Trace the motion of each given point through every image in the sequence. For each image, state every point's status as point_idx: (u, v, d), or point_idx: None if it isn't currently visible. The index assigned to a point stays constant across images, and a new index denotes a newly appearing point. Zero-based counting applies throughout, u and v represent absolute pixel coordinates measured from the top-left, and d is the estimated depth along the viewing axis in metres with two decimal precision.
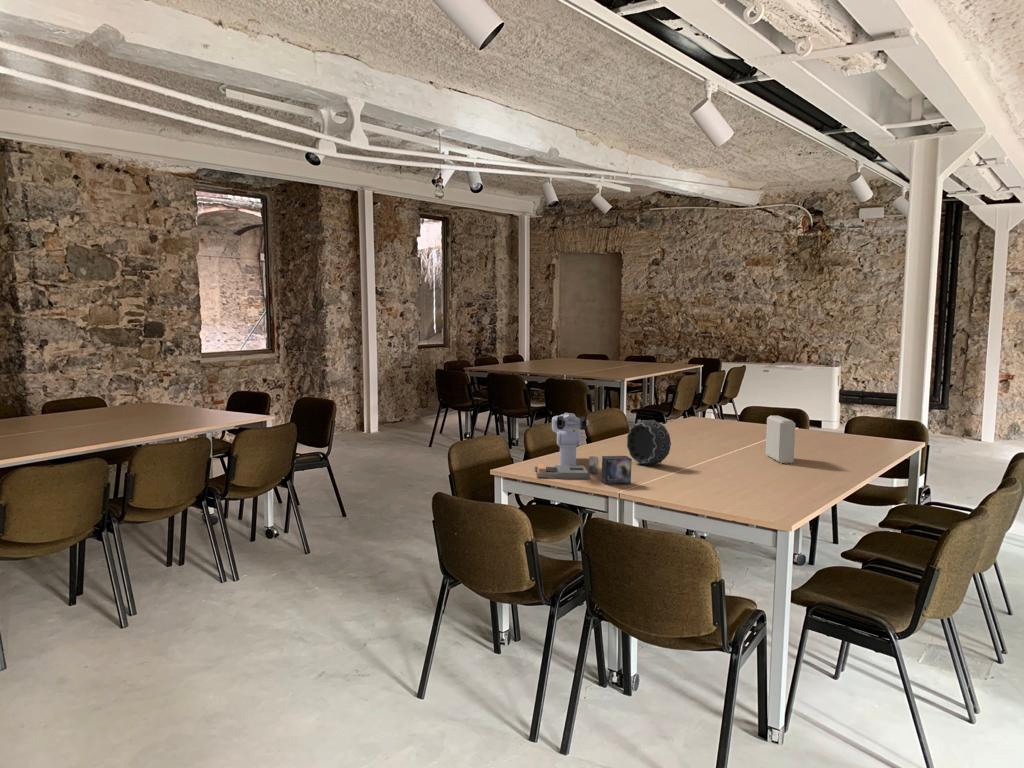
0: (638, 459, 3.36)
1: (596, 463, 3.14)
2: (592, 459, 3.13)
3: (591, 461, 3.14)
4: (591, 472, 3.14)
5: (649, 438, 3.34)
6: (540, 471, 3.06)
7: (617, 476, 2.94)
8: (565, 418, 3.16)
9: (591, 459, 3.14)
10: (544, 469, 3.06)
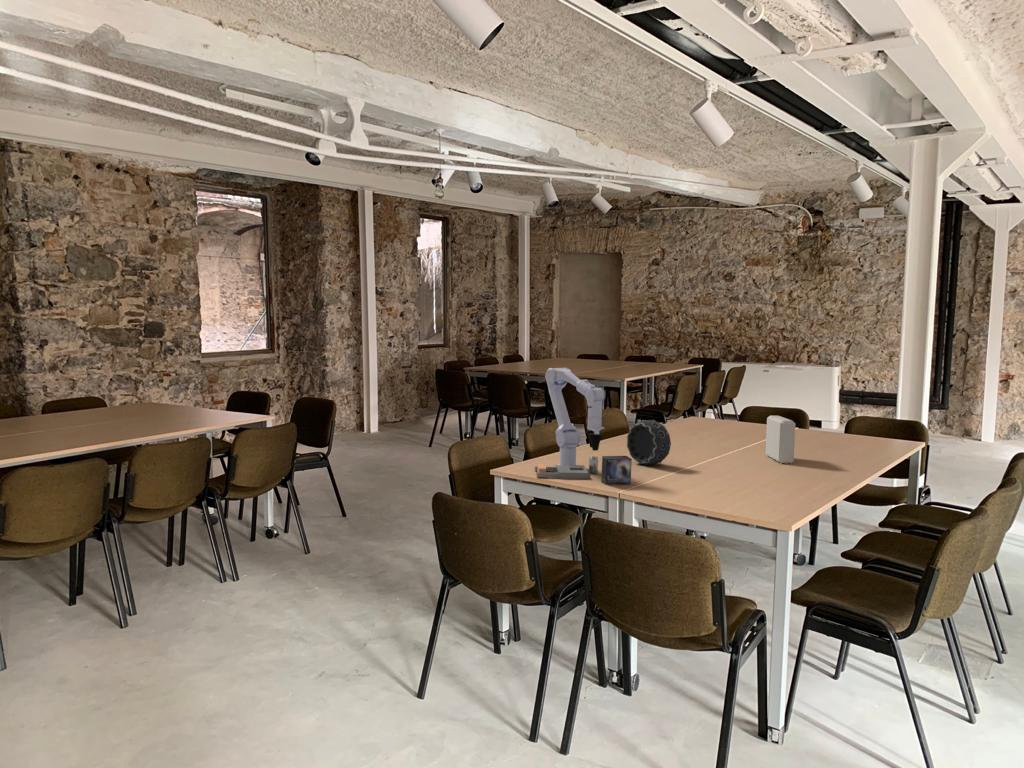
0: (638, 459, 3.36)
1: (596, 463, 3.14)
2: (592, 459, 3.13)
3: (591, 461, 3.14)
4: (591, 472, 3.14)
5: (649, 438, 3.34)
6: (540, 471, 3.06)
7: (617, 476, 2.94)
8: None
9: (591, 459, 3.14)
10: (544, 469, 3.06)
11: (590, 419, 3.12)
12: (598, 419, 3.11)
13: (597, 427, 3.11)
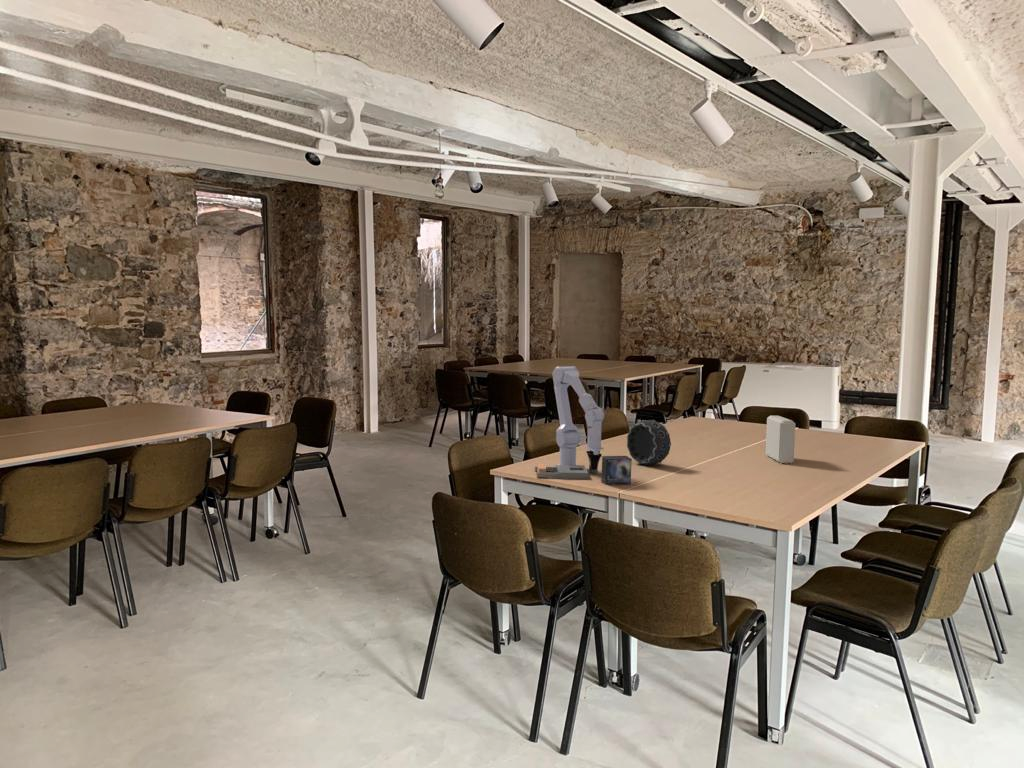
0: (638, 459, 3.36)
1: None
2: None
3: None
4: (591, 472, 3.14)
5: (649, 438, 3.34)
6: (540, 471, 3.06)
7: (617, 476, 2.94)
8: None
9: None
10: (544, 469, 3.06)
11: (590, 439, 3.12)
12: (598, 439, 3.12)
13: (597, 447, 3.12)
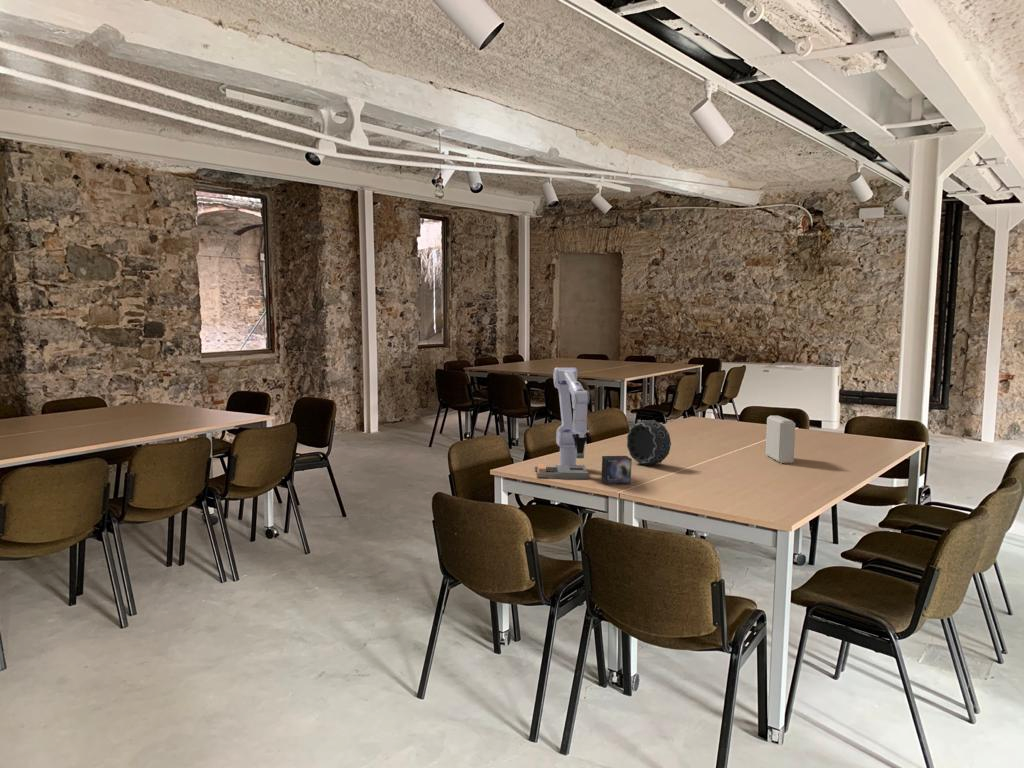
0: (638, 459, 3.36)
1: None
2: None
3: None
4: (578, 456, 3.10)
5: (649, 438, 3.34)
6: (540, 471, 3.06)
7: (617, 476, 2.94)
8: None
9: None
10: (544, 469, 3.06)
11: (575, 422, 3.08)
12: (583, 422, 3.08)
13: (582, 430, 3.08)
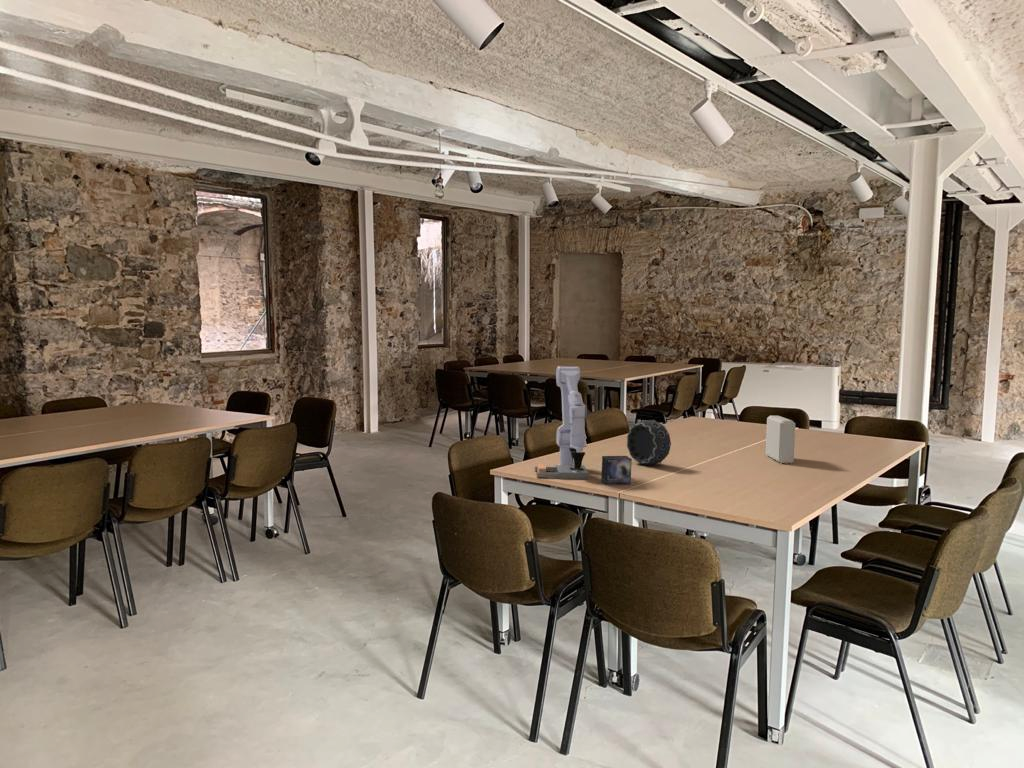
0: (638, 459, 3.36)
1: None
2: None
3: None
4: None
5: (649, 438, 3.34)
6: (540, 471, 3.06)
7: (617, 476, 2.94)
8: None
9: None
10: (544, 469, 3.06)
11: (573, 437, 3.09)
12: (581, 437, 3.08)
13: (580, 445, 3.08)
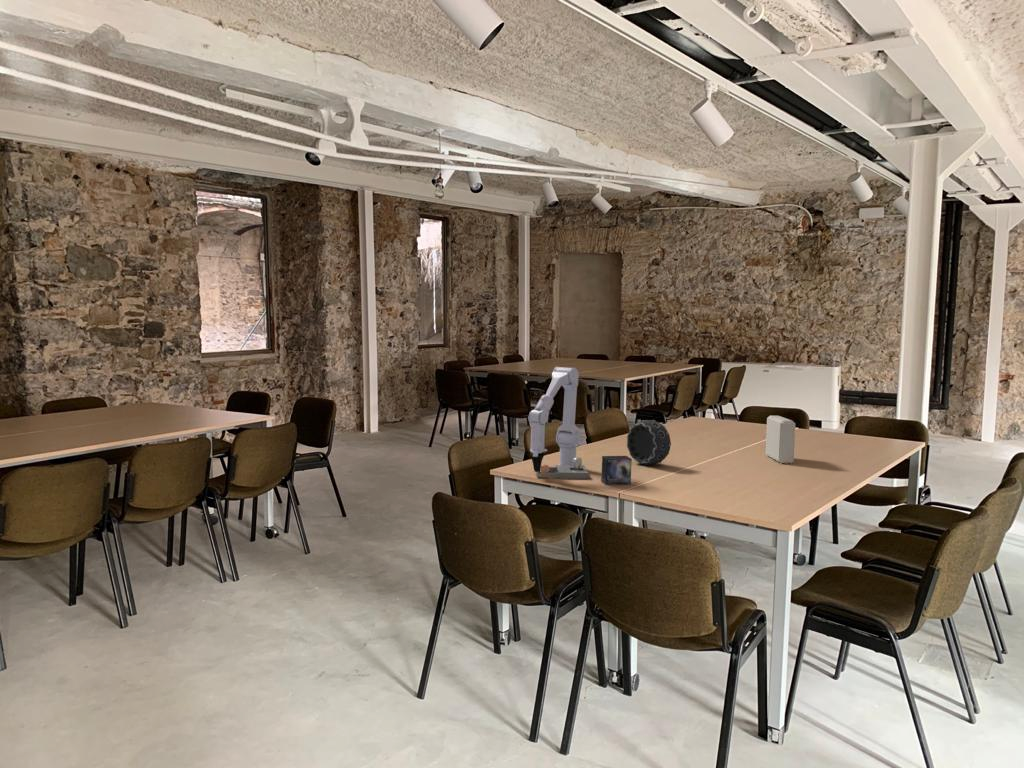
0: (638, 459, 3.36)
1: (580, 464, 3.10)
2: (576, 460, 3.10)
3: (575, 463, 3.10)
4: None
5: (649, 438, 3.34)
6: (543, 471, 3.06)
7: (617, 476, 2.94)
8: None
9: (575, 460, 3.10)
10: (547, 469, 3.06)
11: (532, 441, 3.09)
12: (539, 441, 3.08)
13: (538, 449, 3.08)
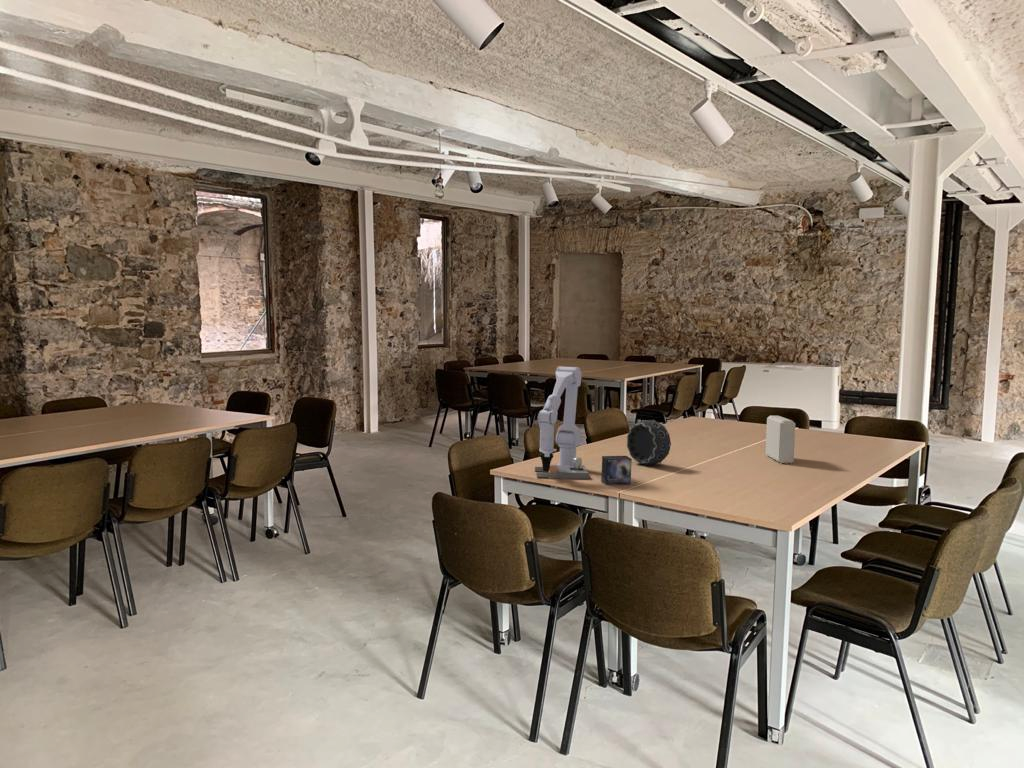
0: (638, 459, 3.36)
1: (580, 464, 3.10)
2: (576, 460, 3.10)
3: (575, 463, 3.10)
4: None
5: (649, 438, 3.34)
6: (552, 471, 3.06)
7: (617, 476, 2.94)
8: None
9: (575, 460, 3.10)
10: (556, 469, 3.06)
11: (541, 441, 3.08)
12: (549, 441, 3.08)
13: (548, 449, 3.08)
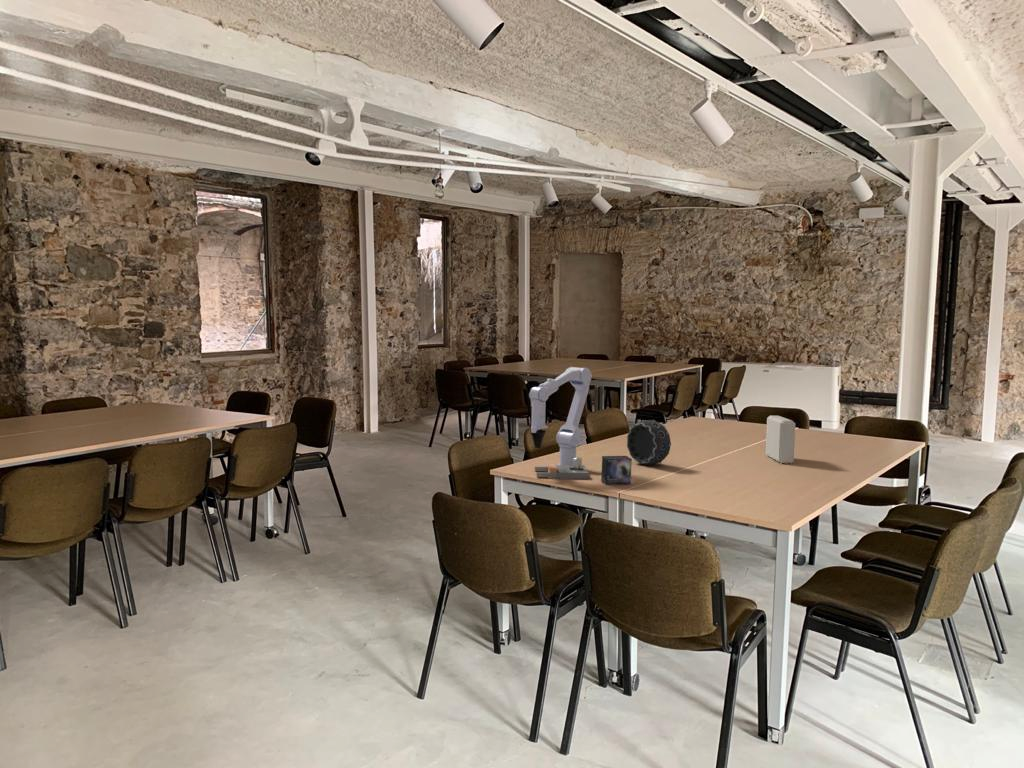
0: (638, 459, 3.36)
1: (580, 464, 3.10)
2: (576, 460, 3.10)
3: (575, 463, 3.10)
4: None
5: (649, 438, 3.34)
6: (551, 471, 3.06)
7: (617, 476, 2.94)
8: (540, 428, 3.12)
9: (575, 460, 3.10)
10: (555, 469, 3.06)
11: (532, 418, 3.13)
12: (539, 418, 3.12)
13: (538, 426, 3.12)
